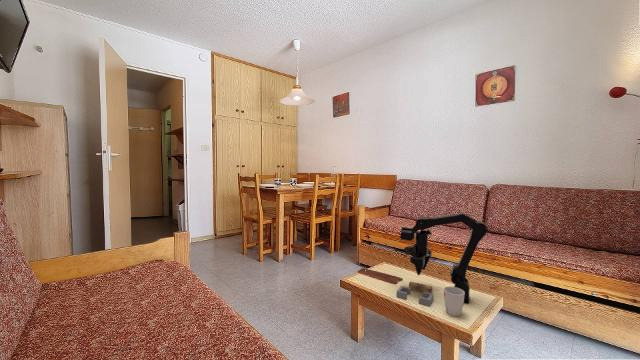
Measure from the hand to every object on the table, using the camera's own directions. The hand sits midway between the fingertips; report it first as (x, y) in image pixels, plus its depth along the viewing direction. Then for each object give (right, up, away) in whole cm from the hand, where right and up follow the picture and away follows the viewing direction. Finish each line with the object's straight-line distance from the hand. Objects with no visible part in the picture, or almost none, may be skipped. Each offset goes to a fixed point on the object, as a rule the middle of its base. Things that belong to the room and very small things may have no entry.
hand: (421, 272), depth 137 cm
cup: (+6, -11, -20) cm, 24 cm away
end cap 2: (-2, -10, -11) cm, 15 cm away
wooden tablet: (-17, -10, +20) cm, 28 cm away
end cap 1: (-10, -10, -5) cm, 15 cm away
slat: (0, -10, 0) cm, 10 cm away
